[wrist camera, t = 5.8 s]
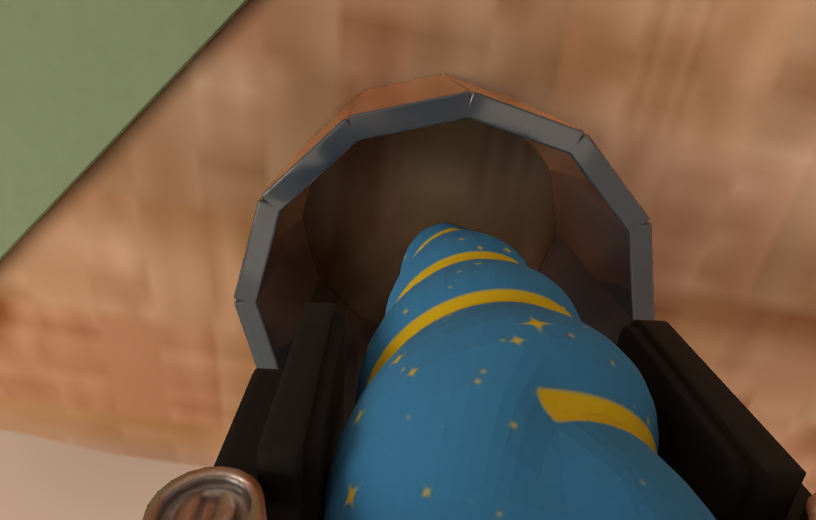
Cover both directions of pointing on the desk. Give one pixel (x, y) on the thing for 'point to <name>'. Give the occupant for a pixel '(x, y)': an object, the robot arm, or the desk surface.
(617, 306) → the crock
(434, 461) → the ornament
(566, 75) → the desk surface
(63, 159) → the mat
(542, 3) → the desk surface
